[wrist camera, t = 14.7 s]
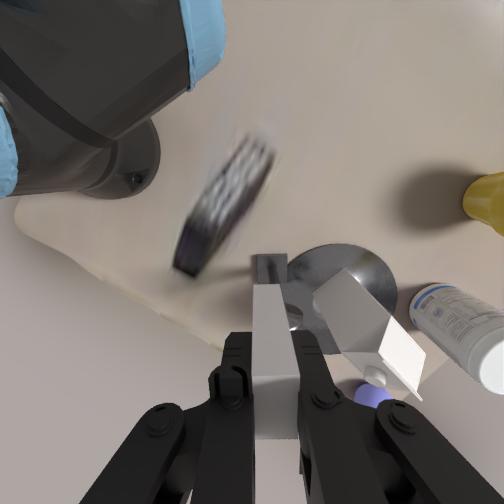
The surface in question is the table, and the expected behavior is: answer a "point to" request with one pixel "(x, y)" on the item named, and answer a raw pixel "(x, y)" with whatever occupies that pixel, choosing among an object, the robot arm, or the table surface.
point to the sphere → (370, 395)
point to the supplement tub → (463, 331)
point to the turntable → (325, 267)
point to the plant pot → (486, 201)
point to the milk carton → (369, 335)
